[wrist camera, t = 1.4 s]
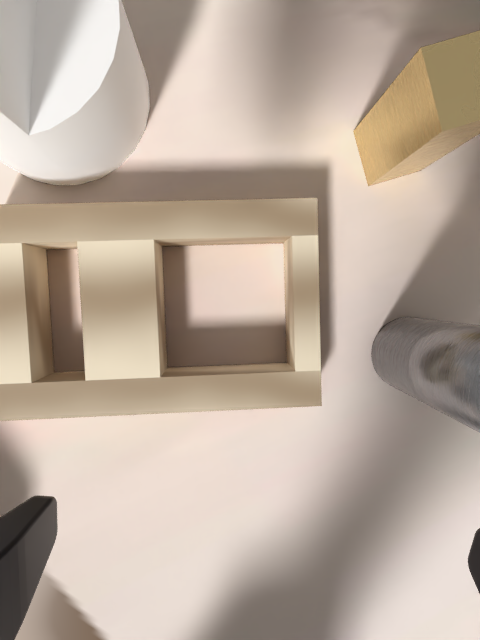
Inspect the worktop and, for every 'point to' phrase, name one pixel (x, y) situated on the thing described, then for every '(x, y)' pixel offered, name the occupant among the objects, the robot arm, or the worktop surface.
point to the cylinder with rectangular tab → (69, 89)
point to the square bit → (423, 111)
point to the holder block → (146, 308)
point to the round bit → (433, 364)
